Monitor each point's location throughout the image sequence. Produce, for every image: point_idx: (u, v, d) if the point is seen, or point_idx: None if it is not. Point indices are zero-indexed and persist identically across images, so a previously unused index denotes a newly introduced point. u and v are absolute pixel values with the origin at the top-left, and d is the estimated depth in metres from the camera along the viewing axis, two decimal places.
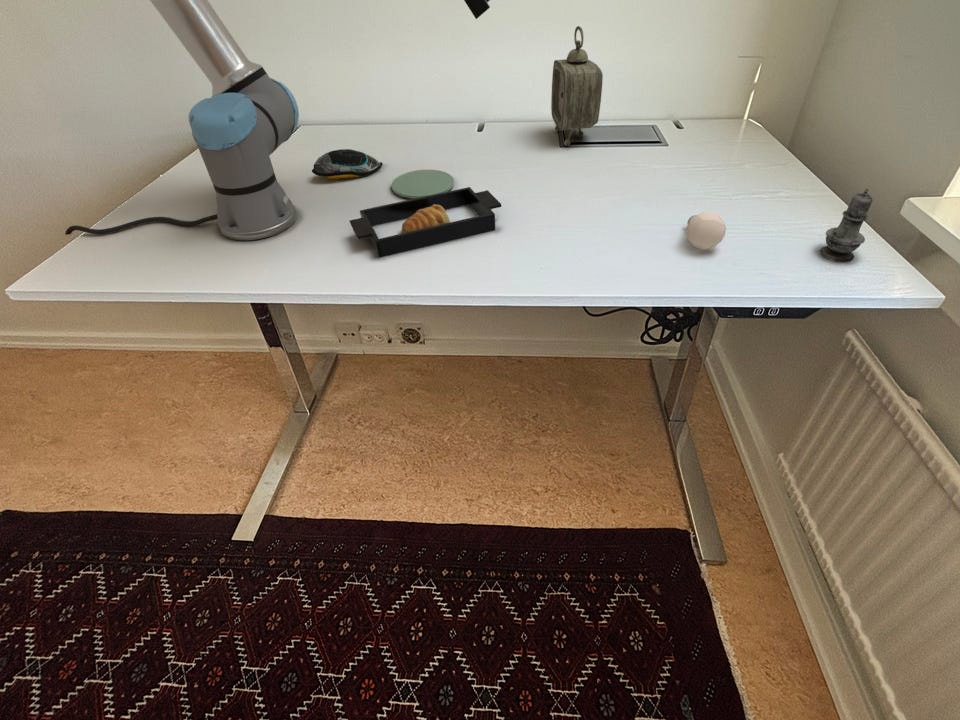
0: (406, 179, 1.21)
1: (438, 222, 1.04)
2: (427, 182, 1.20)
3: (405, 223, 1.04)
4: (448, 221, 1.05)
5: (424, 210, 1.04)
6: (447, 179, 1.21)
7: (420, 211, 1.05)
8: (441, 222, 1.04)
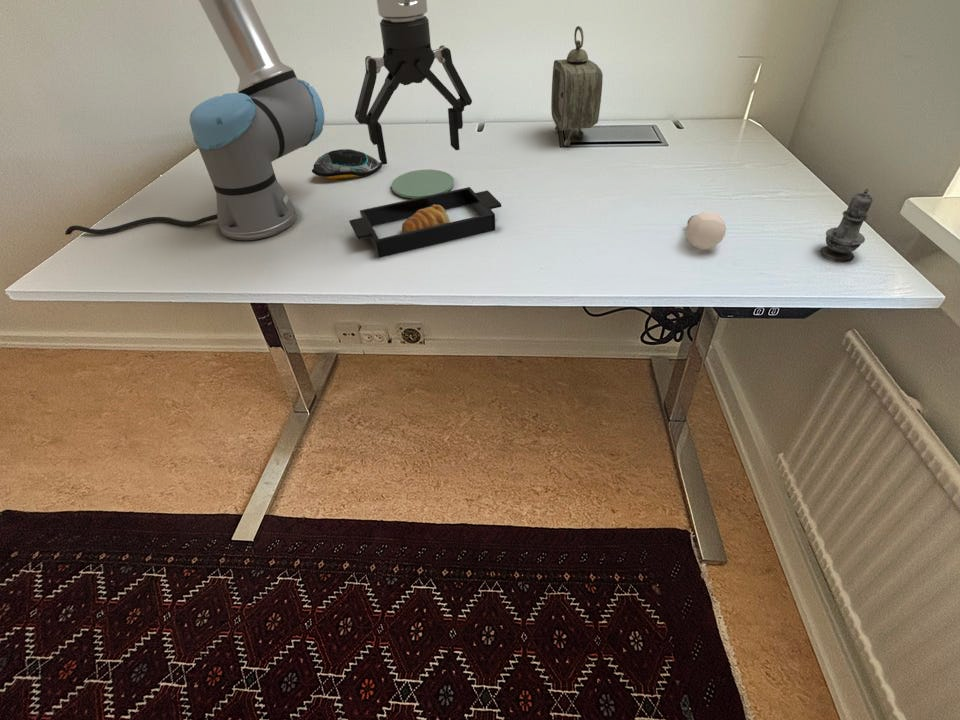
0: (406, 179, 1.21)
1: (438, 222, 1.04)
2: (427, 182, 1.20)
3: (405, 223, 1.04)
4: (448, 221, 1.05)
5: (424, 210, 1.04)
6: (447, 179, 1.21)
7: (420, 211, 1.05)
8: (441, 222, 1.04)
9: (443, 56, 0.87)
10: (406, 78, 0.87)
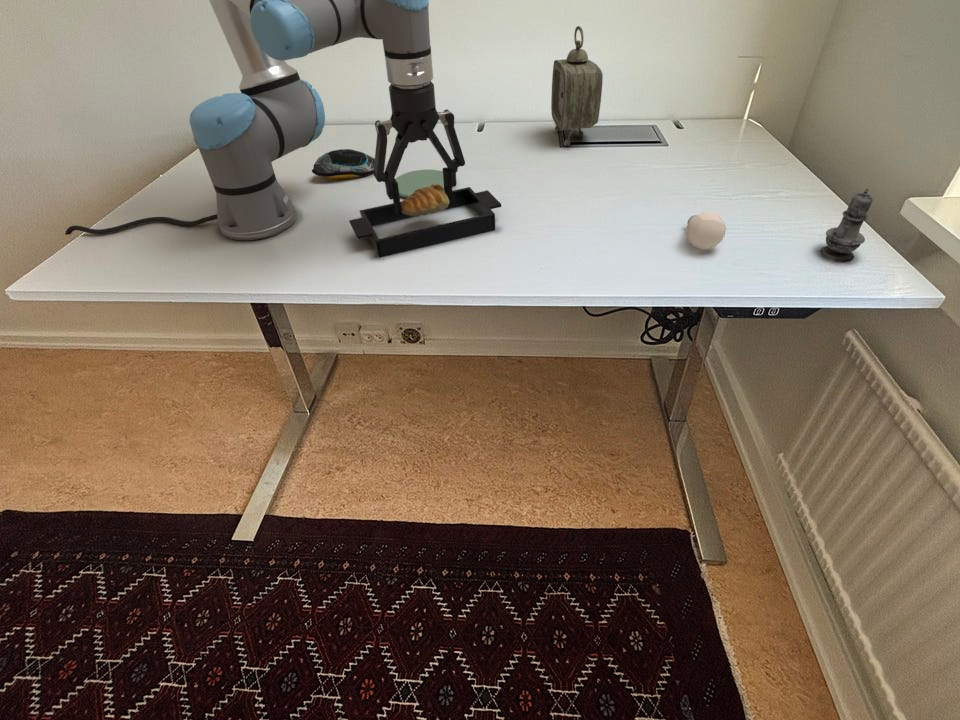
0: (406, 179, 1.21)
1: (437, 201, 1.01)
2: (427, 182, 1.20)
3: (403, 202, 1.01)
4: (447, 201, 1.03)
5: (423, 189, 1.02)
6: None
7: (419, 190, 1.02)
8: (440, 202, 1.02)
9: (446, 119, 0.94)
10: (412, 136, 0.93)
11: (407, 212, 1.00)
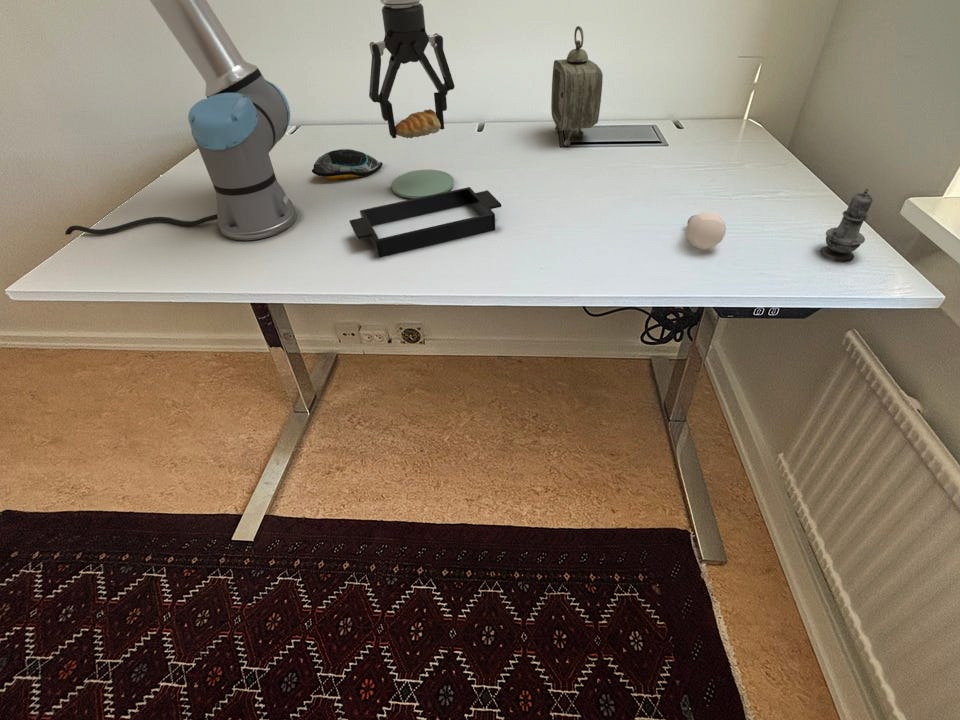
0: (406, 179, 1.21)
1: (429, 124, 1.09)
2: (427, 182, 1.20)
3: (397, 124, 1.09)
4: (439, 124, 1.10)
5: (416, 113, 1.10)
6: (447, 179, 1.21)
7: (412, 114, 1.10)
8: (432, 124, 1.09)
9: (436, 42, 1.01)
10: (404, 57, 1.01)
11: (401, 133, 1.08)
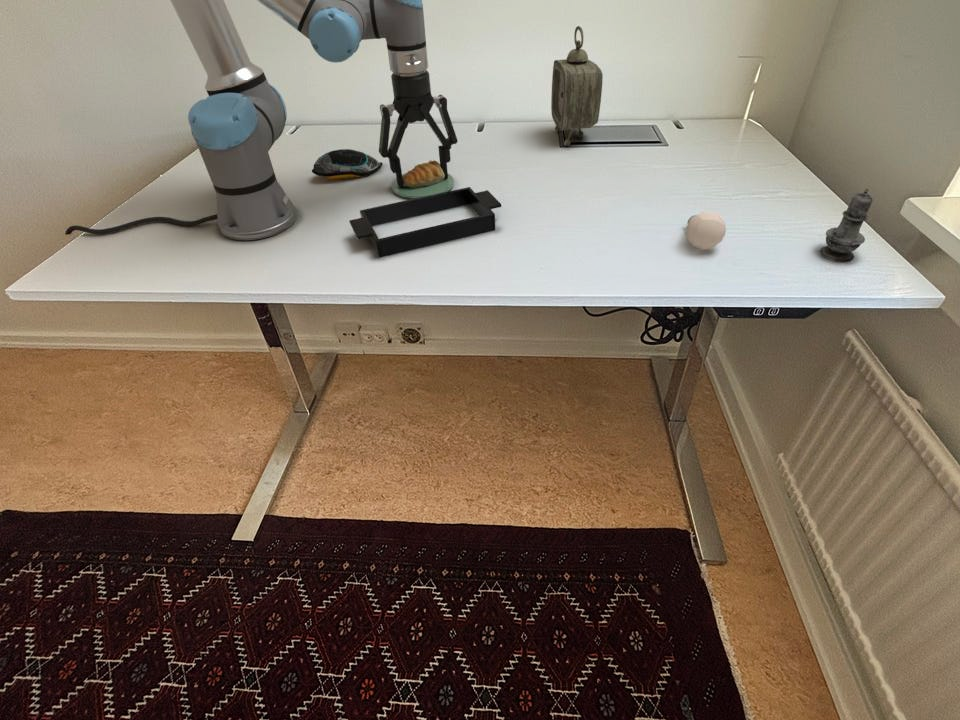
0: None
1: (434, 175, 1.18)
2: None
3: (404, 176, 1.18)
4: (443, 175, 1.19)
5: (421, 165, 1.18)
6: (447, 179, 1.21)
7: (418, 166, 1.19)
8: (437, 175, 1.18)
9: (440, 103, 1.10)
10: (411, 118, 1.10)
11: (408, 184, 1.17)
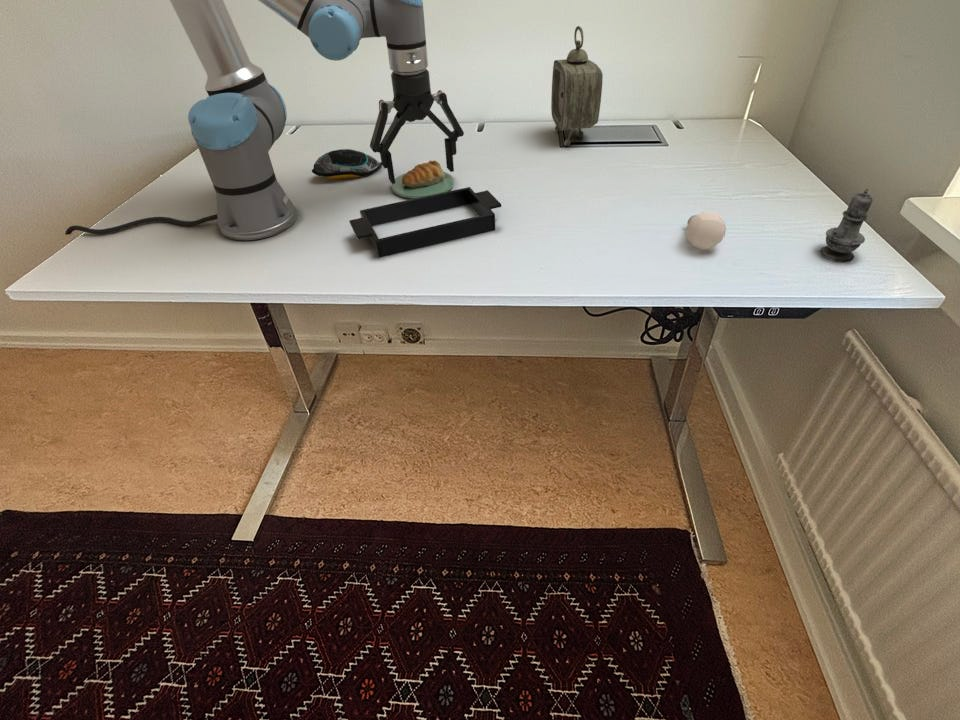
0: None
1: (434, 175, 1.18)
2: None
3: (404, 176, 1.18)
4: (443, 175, 1.19)
5: (421, 165, 1.18)
6: (447, 179, 1.21)
7: (418, 166, 1.19)
8: (437, 175, 1.18)
9: (440, 99, 1.10)
10: (411, 116, 1.09)
11: (408, 184, 1.17)
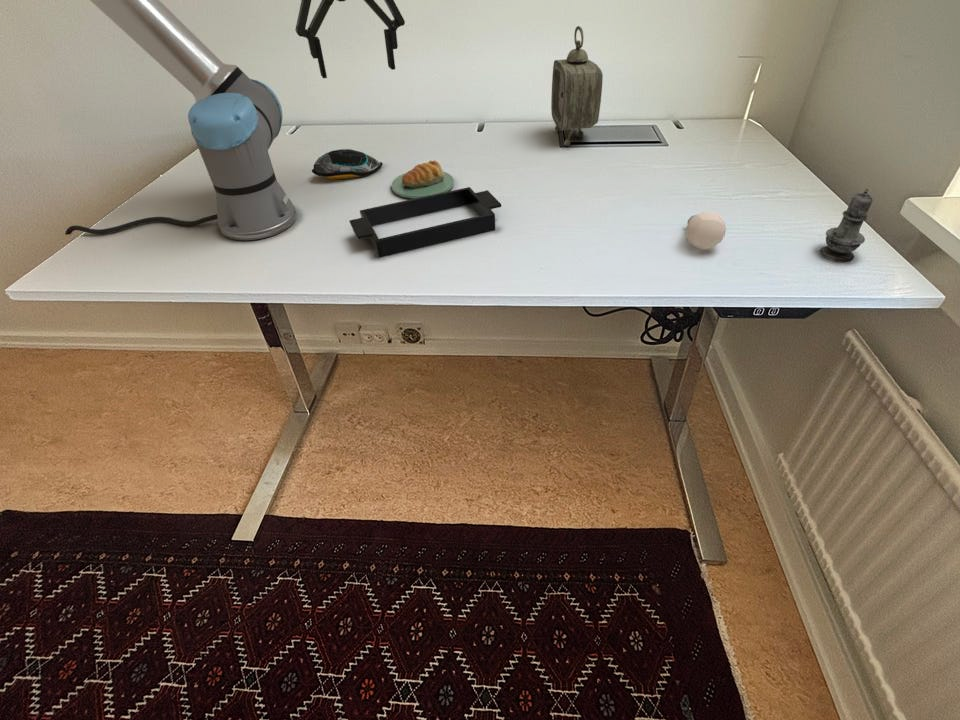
0: None
1: (434, 175, 1.18)
2: None
3: (404, 176, 1.18)
4: (443, 175, 1.19)
5: (421, 165, 1.18)
6: (447, 179, 1.21)
7: (418, 166, 1.19)
8: (437, 175, 1.18)
9: None
10: None
11: (408, 184, 1.17)
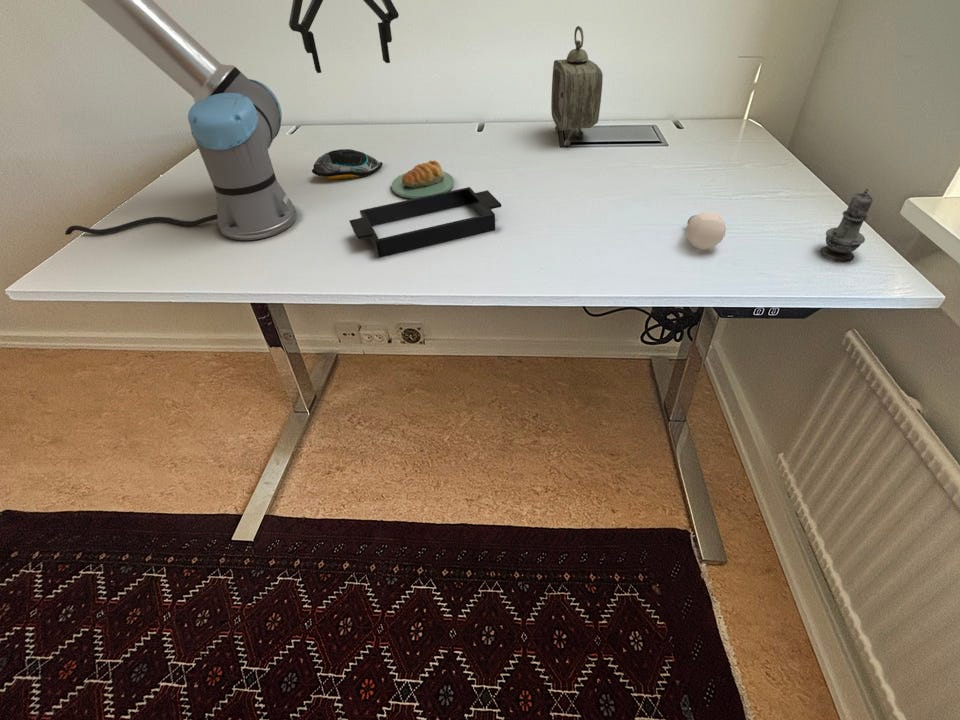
0: None
1: (434, 175, 1.18)
2: None
3: (404, 176, 1.18)
4: (443, 175, 1.19)
5: (421, 165, 1.18)
6: (447, 179, 1.21)
7: (418, 166, 1.19)
8: (437, 175, 1.18)
9: None
10: None
11: (408, 184, 1.17)
